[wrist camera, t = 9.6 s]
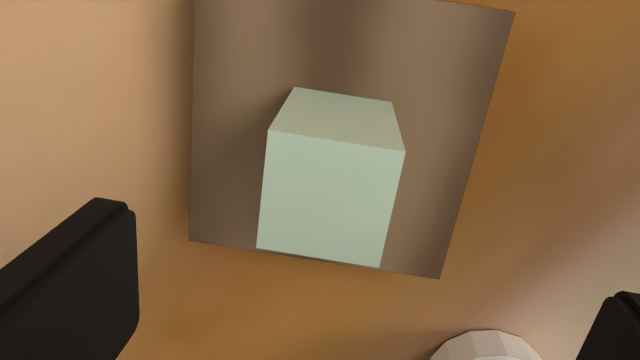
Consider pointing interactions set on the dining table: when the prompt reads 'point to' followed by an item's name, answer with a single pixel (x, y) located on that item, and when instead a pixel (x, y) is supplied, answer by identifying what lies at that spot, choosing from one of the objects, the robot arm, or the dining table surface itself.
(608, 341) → the robot arm
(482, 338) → the white cup
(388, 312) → the dining table surface
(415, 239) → the walnut base
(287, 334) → the dining table surface
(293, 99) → the sage block
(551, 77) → the dining table surface
